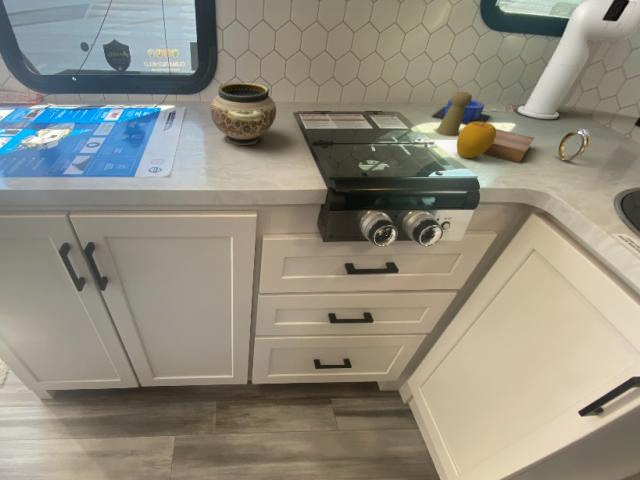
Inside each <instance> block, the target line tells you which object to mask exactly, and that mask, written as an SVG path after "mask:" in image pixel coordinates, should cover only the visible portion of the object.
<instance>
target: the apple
mask: <svg viewBox="0 0 640 480" xmlns="http://www.w3.org/2000/svg"><path fill="white" fill-rule="evenodd" d="M496 129H497V128H496V127H495V126H494V125H493V124H491V123H489V122H486V121H484V122H471V123H469V124H468V125H466V124H465V126H464V127H463V128H462V129H461V130H460V132H459V133H458V137H457V141H456V151H457V154H458V156H459V157H461V158H464V159H475V158H477V157H479V156H481V155H482V154H484V153H483V152H485V151H486V150H487V149H488V148H489V147H490V146H491V145H492V144H493V142H494V140H495V137H496Z"/></svg>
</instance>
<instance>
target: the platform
mask: <svg viewBox="0 0 640 480" xmlns="http://www.w3.org/2000/svg"><path fill="white" fill-rule="evenodd" d="M495 129H496V137H495V140H494V142H493V144H492V145H491V146H490V147H489V148H488V149H487V150H486V151H485V152H483V153H482V154H484V155H488V156H492V157H495V158H500V159H504V160H508V161H511V162H515V163H521V161H522V160H523V158H524V156H525V155H526V153H527V151H528V150H529V148H530V146H531V144H532V142H533V140H534V139H535V137H533V136H529V135H524V134H520V133H515V132H510V131H507V130H502V129H497V128H495Z"/></svg>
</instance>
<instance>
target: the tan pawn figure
mask: <svg viewBox="0 0 640 480" xmlns="http://www.w3.org/2000/svg"><path fill="white" fill-rule="evenodd" d="M472 98H473V96H472V94H471V93H469V92H466V91H457V92H455V93H454V94H453V95H452V97H451V98H450V99H451V103H452V104H451V106H450V108H449V110H448V111H447V113H446V115H445V117H444V119H441V120H442V121H441V122H440V124H439V125H438V127H437V129H436V132H437V133H439V134H441V135H444V136H454V137H455V136H457V135H459V130H460V127H461V125H462V123H461V121H462V118H463V115H464V112H465V109H466V106H467V105H468V104H469V103H470V102H471V100H473V99H472Z"/></svg>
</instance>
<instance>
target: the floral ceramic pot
mask: <svg viewBox="0 0 640 480" xmlns="http://www.w3.org/2000/svg"><path fill="white" fill-rule="evenodd" d="M217 89H218V94H217V95H216V97H214V98H213V100H212V102H211V104H210V110H209V111H210V117H211V120H212V122H213V124H214V125H215V127H216V128H217V129H218V130H219V131H220V132H221V133H223V134H224V135H226V136H225V138H226V140H227V142H229V143H231V144H235V145H238V146H247V145H248V146H249V145H253V144H255V143H257V142H259V140H260V136H261V135H263V134H265V133H266V132H267V131H268V130H269V129H271V127H272V125H273V123H274V122H275V120H276V116H277V106H276V102H275V101H274V99H272V98H271V96H270V95H269V94H270V88H269V87H268V86H267V85H264V84H262V83H256V82H230V83H225V84H222V85H220V86H219V87H218V88H217Z"/></svg>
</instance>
